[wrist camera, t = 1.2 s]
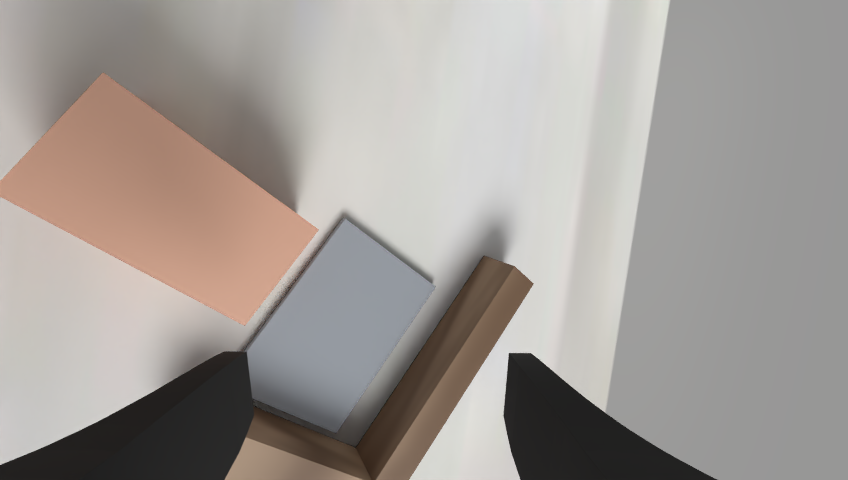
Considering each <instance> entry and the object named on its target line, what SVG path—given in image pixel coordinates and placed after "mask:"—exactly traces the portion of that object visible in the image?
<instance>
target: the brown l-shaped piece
mask: <svg viewBox="0 0 848 480" xmlns="http://www.w3.org/2000/svg"><path fill="white" fill-rule="evenodd" d="M532 286H533V283H532V282H531V281H530V280H529V279H528V278H527V277H526V276H525V275H524V274H522V273H521V272H520V271H519V270H518V269H517V268H516V267H515V266H512V265H509V264H506V263H504V262H501V261H498V260H495V259H492V258H489V257H486V256H483V258H482V259H481V261H480V262H479V264H478V265H477V267H476V268H475V270H474V271H473V273H472V274H471V276H470V277H469V279H468V280H467V282H466V283H465V285H464V286H463V288H462V289H461V291H460V292H459V294H458V295H457V297H456V298H455V300H454V301H453V303H452V304H451V306H450V307H449V309H448V310H447V312H446V313H445V315H444V316H443V318H442V319H441V321H440V322H439V324H438V325H437V327H436V328H435V330H434V331H433V333H432V334H431V336H430V337H429V339H428V340H427V342H426V343H425V345H424V346H423V348H422V349H421V351H420V352H419V354H418V355H417V357H416V358H415V360H414V361H413V363H412V364H411V366H410V367H409V369H408V370H407V372H406V373H405V375H404V376H403V378H402V379H401V381H400V382H399V384H398V385H397V387H396V388H395V390H394V391H393V393H392V394H391V396H390V397H389V399H388V400H387V402H386V403H385V405H384V406H383V408H382V409H381V411H380V412H379V414H378V415H377V417H376V418H375V420H374V421H373V423H372V424H371V426H370V427H369V429H368V430H367V432H366V433H365V435H364V436H363V438H362V439H361V441H360V442H359V444H358V445H357V447H356V448H355V447H352V446H350V445H348V444H345V443H343V442H340V441H338V440H335V439H333V438H330V437H328V436H325V435H323V434H321V433H318V432H316V431H313V430H311V429H308V428H306V427H303V426H301V425H299V424H296V423H294V422H291V421H289V420H286V419H284V418H281V417H279V416H276V415H274V414H272V413H269V412H267V411H264V410H262V409H259V408H257V407H254V406H253V409H254V417H253V420H252V422H251V425H250V428H249V430H248V433H247V435H246V438H245V440H244V443H243V445H242V447H241V450H240V452H239V454H238V456H237V458H236V460H235V461H234V463H233V465H232V467H231V469H230V471H229V472H228V474H227V476H226V478H225V480H409V479H410V477H411V476H412V474H413V473H414V471H415V469H416V468H417V466H418V465H419V463H420V462H421V460H422V458H423V457H424V455H425V454H426V452H427V451H428V449H429V447H430V446H431V444H432V443H433V441H434V440H435V438H436V436H437V435H438V433H439V432H440V430H441V429H442V427H443V425H444V424H445V422H446V421H447V419H448V418H449V416H450V414H451V413H452V411H453V410H454V408H455V407H456V405H457V403H458V402H459V400H460V399H461V397H462V396H463V394H464V392H465V391H466V389H467V388H468V386H469V385H470V383H471V381H472V380H473V378H474V377H475V375H476V374H477V372H478V370H479V369H480V367H481V366H482V364H483V363H484V361H485V359H486V358H487V356H488V355H489V353H490V352H491V350H492V348H493V347H494V345H495V344H496V342H497V341H498V339H499V337H500V336H501V334H502V333H503V331H504V330H505V328H506V326H507V325H508V323H509V322H510V320H511V319H512V317H513V316H514V314H515V312H516V311H517V309H518V308H519V306H520V305H521V303H522V301H523V300H524V298H525V297H526V295H527V294H528V292H529V290H530V289H531V287H532Z"/></svg>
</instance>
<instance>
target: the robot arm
mask: <svg viewBox="0 0 848 480" xmlns="http://www.w3.org/2000/svg"><path fill="white" fill-rule="evenodd" d="M253 417H254V409H253V400H252V392H251V383H250V375H249V366H248V358H247V352H223V353H221V354H218V355H216V356H214V357H213V358H211V359H209V360H207V361H205V362H204V363H202V364H200V365H198V366H197V367H195V368H193V369H191V370H190V371H188V372H186V373H185V374H183V375H181V376H180V377H178V378H176V379H174V380H173V381H171V382H169V383H167V384H166V385H164V386H162V387H161V388H159V389H157V390H155V391H154V392H152V393H150V394H148V395H147V396H145V397H143V398H141V399H139V400H137V401H136V402H134V403H132V404H130V405H128V406H126V407H125V408H123V409H121V410H119V411H117V412H115V413H113V414H112V415H110V416H108V417H106V418H104V419H102V420H100V421H98V422H96V423H94V424H92V425H90V426H88V427H86V428H84V429H82V430H80V431H78V432H76V433H74V434H71V435H69V436H67V437H65V438H63V439H61V440H58V441H56V442H54V443H52V444H50V445H48V446H45V447H43V448H41V449H38V450H36V451H34V452H31V453H29V454H26V455H24V456H21V457H19V458H17V459H14V460H12V461H9V462H7V463H4V464H2V465H0V480H225V478H226V476H227V474H228V472H229V471H230V469H231V467H232V465H233V463H234V461H235V460H236V458H237V456H238V454H239V452H240V450H241V447H242V445H243V443H244V440H245V438H246V435H247V433H248V430H249V428H250V425H251V422H252V420H253ZM504 420H505V425H506V430H507V435H508V439H509V444H510V448H511V452H512V456H513V459H514V462H515V465H516V468H517V471H518V474H519V477H520V479H521V480H717V479H714V478H713V477H711V476H709V475H707V474H704V473H703V472H701V471H699V470H697V469H695V468H693V467H692V466H690V465H688V464H686V463H684V462H682V461H680V460H679V459H677V458H675V457H673V456H671V455H670V454H668V453H666V452H664V451H663V450H661V449H659V448H658V447H656V446H654V445H653V444H651V443H649V442H648V441H646V440H645V439H643V438H642V437H640V436H638V435H637V434H635V433H634V432H632V431H630V430H629V429H627V428H626V427H624V426H623V425H621V424H620V423H619V422H617V421H616V420H614V419H613V418H612V417H610V416H609V415H607V414H606V413H605V412H603V411H602V410H601V409H599V408H598V407H596V406H595V405H594V404H592V403H591V402H590V401H589V400H587V399H586V398H585V397H583V396H582V395H581V394H580V393H578V392H577V391H576V390H575V389H573V388H572V387H571V386H570V385H569V384H567V383H566V382H565V381H564V380H563V379H561V378H560V377H559V376H558V375H557V374H555V373H554V372H553V371H552V370H551V369H550V368H548V367H547V366H546V365H545V364H544V363H542V362H541V361H540V360H539V359H538V358H536V357H535V356H534V355H533V354H531V353H509V359H508V371H507V382H506V394H505V405H504Z"/></svg>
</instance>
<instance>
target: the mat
mask: <svg viewBox="0 0 848 480" xmlns="http://www.w3.org/2000/svg"><path fill="white" fill-rule="evenodd" d="M434 289H435V286H434V285H433V284H432V283H430V282H429V281H428V280H426V279H425V278H424V277H422V276H421V275H420V274H418V273H417V272H416V271H414V270H413V269H412V268H410V267H409V266H408V265H406V264H405V263H404V262H402V261H401V260H400V259H398V258H397V257H396V256H394V255H393V254H392V253H390V252H389V251H388V250H386V249H385V248H384V247H382V246H381V245H380V244H378V243H377V242H376V241H374V240H373V239H372V238H370V237H369V236H368V235H366V234H365V233H364V232H362V231H361V230H360V229H359V228H357V227H356V226H355V225H353V224H352V223H351V222H349V221H348V220H347V219H345V218H343V219H342V220H341V221H340V223H339V224H338V225H337V227H336V228H335V229H334V231H333V232H332V233H331V235H330V236H329V237H328V239H327V240H326V241H325V243H324V244H323V246H322V247H321V248H320V250H319V251H318V252H317V254H316V255H315V256H314V258H313V259H312V260H311V262H310V263H309V264H308V266H307V267H306V268H305V270H304V271H303V272H302V274H301V275H300V277H299V278H298V279H297V281H296V282H295V283H294V285H293V286H292V287H291V289H290V290H289V291H288V293H287V294H286V295H285V297H284V298H283V299H282V301H281V302H280V303H279V305H278V306H277V308H276V309H275V310H274V312H273V313H272V314H271V316H270V317H269V318H268V320H267V321H266V322H265V324H264V325H263V326H262V328H261V329H260V330H259V332H258V333H257V334H256V336H255V337H254V339H253V340H252V341H251V343H250V344H249V345H248V347H247V348H246V349H245V351H244V352H247V358H248V366H249V375H250V383H251V392H252V398H253V399H255V400H257V401H260V402H262V403H264V404H267V405H269V406H272V407H274V408H276V409H279V410H281V411H284V412H286V413H288V414H291V415H293V416H296V417H298V418H300V419H303V420H305V421H308V422H310V423H312V424H315V425H317V426H320V427H322V428H324V429H327V430H329V431H332V432H334V433H337V432H338V430H339V429H340V427H341V426H342V424H343V423H344V421H345V420H346V418H347V417H348V415H349V414H350V412H351V411H352V409H353V408H354V407H355V405H356V404H357V402H358V401H359V399H360V398H361V396H362V395H363V393H364V392H365V390H366V389H367V387H368V386H369V384H370V383H371V381H372V380H373V379H374V377H375V376H376V374H377V373H378V371H379V370H380V368H381V367H382V365H383V364H384V362H385V361H386V359H387V358H388V356H389V355H390V353H391V352H392V351H393V349H394V348H395V346H396V345H397V343H398V342H399V340H400V339H401V337H402V336H403V334H404V333H405V331H406V330H407V328H408V327H409V326H410V324H411V323H412V321H413V320H414V318H415V317H416V315H417V314H418V312H419V311H420V309H421V308H422V306H423V305H424V303H425V302H426V300H427V299H428V298H429V296H430V295H431V293H432V292H433V290H434Z"/></svg>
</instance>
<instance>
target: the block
mask: <svg viewBox="0 0 848 480" xmlns="http://www.w3.org/2000/svg"><path fill="white" fill-rule="evenodd" d="M0 197H2V198H4V199H6V200H8V201H10V202H11V203H13V204H15V205H17V206H19V207H21V208H23V209H25V210H27V211H28V212H30V213H32V214H34V215H36V216H38V217H40V218H42V219H44V220H45V221H47V222H49V223H51V224H53V225H55V226H57V227H59V228H61V229H62V230H64V231H66V232H68V233H70V234H72V235H74V236H76V237H78V238H80V239H81V240H83V241H85V242H87V243H89V244H91V245H93V246H95V247H97V248H98V249H100V250H102V251H104V252H106V253H108V254H110V255H112V256H114V257H115V258H117V259H119V260H121V261H123V262H125V263H127V264H129V265H131V266H133V267H134V268H136V269H138V270H140V271H142V272H144V273H146V274H148V275H150V276H151V277H153V278H155V279H157V280H159V281H161V282H163V283H165V284H167V285H168V286H170V287H172V288H174V289H176V290H178V291H180V292H182V293H184V294H186V295H187V296H189V297H191V298H193V299H195V300H197V301H199V302H201V303H203V304H204V305H206V306H208V307H210V308H212V309H214V310H216V311H218V312H220V313H221V314H223V315H225V316H227V317H229V318H231V319H233V320H235V321H237V322H239V323H240V324H242V325H244V326H245V325H246V324H247V322H248V321H249V320H250V318H251V317H252V316H253V315H254V313H255V312H256V311H257V309H258V308H259V307H260V305H261V304H262V303H263V302H264V300H265V299H266V298H267V296H268V295H269V294H270V292H271V291H272V290H273V289H274V287H275V286H276V285H277V283H278V282H279V281H280V280H281V278H282V277H283V276H284V274H285V273H286V272H287V270H288V269H289V268H290V267H291V265H292V264H293V263H294V261H295V260H296V259H297V257H298V256H299V255H300V254H301V252H302V251H303V250H304V248H305V247H306V246H307V244H308V243H309V242H310V241H311V239H312V238H313V237H314V235H315V234H316V233H317V232H318V230H319V229H317V228H316V227H314V226H313V225H312V224H310V223H309V222H308V221H306V220H305V219H303V218H302V217H301V216H299V215H298V214H297V213H295V212H294V211H292V210H291V209H290V208H288V207H287V206H286V205H284V204H283V203H282V202H280V201H279V200H277V199H276V198H275V197H273V196H272V195H271V194H269V193H268V192H266V191H265V190H264V189H262V188H261V187H260V186H258V185H257V184H255V183H254V182H253V181H251V180H250V179H249V178H247V177H246V176H245V175H243V174H242V173H240V172H239V171H238V170H236V169H235V168H234V167H232V166H231V165H229V164H228V163H227V162H225V161H224V160H223V159H221V158H220V157H218V156H217V155H216V154H214V153H213V152H212V151H210V150H209V149H208V148H206V147H205V146H203V145H202V144H201V143H199V142H198V141H197V140H195V139H194V138H192V137H191V136H190V135H188V134H187V133H186V132H184V131H183V130H181V129H180V128H179V127H177V126H176V125H175V124H173V123H172V122H170V121H169V120H168V119H166V118H165V117H164V116H162V115H161V114H160V113H158V112H157V111H155V110H154V109H153V108H151V107H150V106H149V105H147V104H146V103H144V102H143V101H142V100H140V99H139V98H138V97H136V96H135V95H133V94H132V93H131V92H129V91H128V90H127V89H125V88H124V87H123V86H121V85H120V84H118V83H117V82H116V81H114V80H113V79H112V78H110V77H109V76H107V75H106V74H105V73H102V74H101V75H100V76H99V77H98V78H97V79H96V80H95V81H94V82H93V84H92V85H91V86H90V87H89V88H88V89H87V90H86V91H85V92H84V93H83V94H82V95H81V96H80V97H79V98H78V99H77V100H76V102H75V103H74V104H73V105H72V106H71V107H70V108H69V109H68V110H67V111H66V112H65V113H64V114H63V115H62V116H61V117H60V118H59V120H58V121H57V122H56V123H55V124H54V125H53V126H52V127H51V128H50V129H49V130H48V131H47V132H46V133H45V134H44V135H43V136H42V138H41V139H40V140H39V141H38V142H37V143H36V144H35V145H34V146H33V147H32V148H31V149H30V150H29V151H28V152H27V153H26V154H25V156H24V157H23V158H22V159H21V160H20V161H19V162H18V163H17V164H16V165H15V166H14V167H13V168H12V169H11V170H10V171H9V172H8V174H7V175H6V176H5V177H4V178H3V179H2V180H1V181H0Z"/></svg>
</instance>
